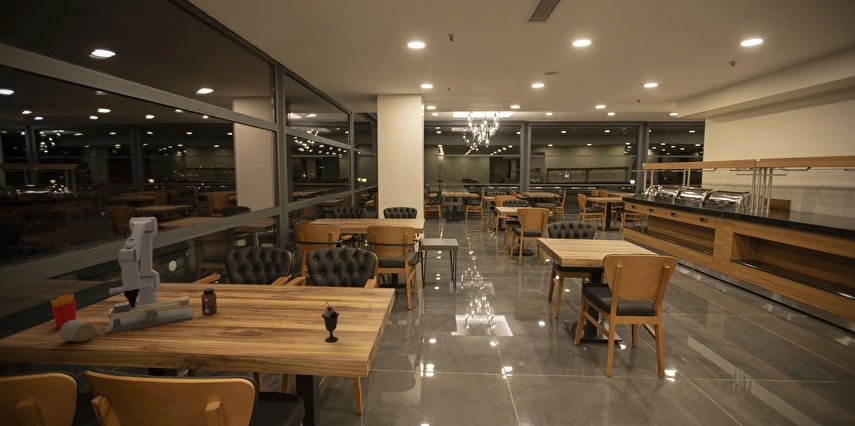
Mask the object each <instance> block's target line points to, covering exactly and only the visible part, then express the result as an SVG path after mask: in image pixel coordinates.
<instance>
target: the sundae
mask: <svg viewBox="0 0 855 426" xmlns="http://www.w3.org/2000/svg"><path fill="white" fill-rule="evenodd" d="M325 303H326V304H327V307H326V310H325V311H324V313H322V314H321V317H322V319H323V321H324V326H325V329H326V330H327V331H328V332H329V337H326V338H325V339H324V342H326V343H335V342H337V341H339V338H338V337H337V336H334V334H333V332H334V331H335V330H336V329H337V326H338V317H339V316H340V313H339V312H337V311H336V310H335V309H334V308H333V307H331V306H330V305H329V303H328V301H325Z"/></svg>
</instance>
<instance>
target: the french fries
mask: <svg viewBox="0 0 855 426" xmlns="http://www.w3.org/2000/svg"><path fill="white" fill-rule="evenodd" d="M74 295H75V293H72V294H71V293H70V294H68V293H66V294H65V295H63V296H62V295H61V296H59V297H56V298H55V299H52V300H51V301H50V303H51V305H52V306H51V307H52V308H51V309H52V312H53V317H54V322H55V327H56V329H61V327H62V326H63V325H64V324H65V323H66V322H68V321H71V320H77V300H76V299H74Z"/></svg>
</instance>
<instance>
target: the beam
mask: <svg viewBox="0 0 855 426" xmlns="http://www.w3.org/2000/svg"><path fill="white" fill-rule="evenodd" d="M186 308H190V295H184V296H179V299H174V300H168V301H161V302H157V303H154V304H147V305H141V306H139V305H135V308H131V311H128V312H121V313H115V314H114V308H113V307H110V310H109V312H108V321H111V320H115V319H124V318H130V317H136V316H142V315H146V310H150V309H155V313H161V312H168V311H174V310H180V309H186Z"/></svg>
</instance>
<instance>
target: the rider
mask: <svg viewBox="0 0 855 426" xmlns="http://www.w3.org/2000/svg"><path fill="white" fill-rule="evenodd" d="M112 308H114V314H115V313H121V312H128V311H131V305H130V303H129V301H123V302H117V303H114V305H113V307H112Z"/></svg>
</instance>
